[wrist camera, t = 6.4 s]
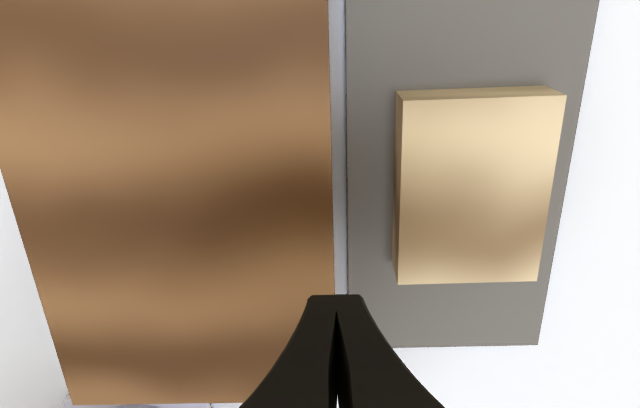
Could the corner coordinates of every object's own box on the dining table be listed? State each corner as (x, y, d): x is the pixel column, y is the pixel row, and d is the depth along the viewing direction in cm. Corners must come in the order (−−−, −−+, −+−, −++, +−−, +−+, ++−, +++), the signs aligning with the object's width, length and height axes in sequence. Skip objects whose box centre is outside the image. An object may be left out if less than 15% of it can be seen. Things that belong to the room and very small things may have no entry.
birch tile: (397, 284, 21) (391, 261, 23) (536, 281, 21) (519, 257, 23) (403, 100, 18) (395, 90, 20) (567, 95, 18) (544, 85, 20)
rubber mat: (533, 338, 26) (537, 345, 25) (348, 342, 26) (349, 348, 25) (601, -51, 18) (608, -52, 18) (344, -42, 19) (345, -43, 18)
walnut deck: (335, 342, 26) (336, 400, 22) (108, 346, 26) (72, 405, 22) (326, -41, 19) (326, -49, 15) (13, -30, 19) (-62, -34, 15)
